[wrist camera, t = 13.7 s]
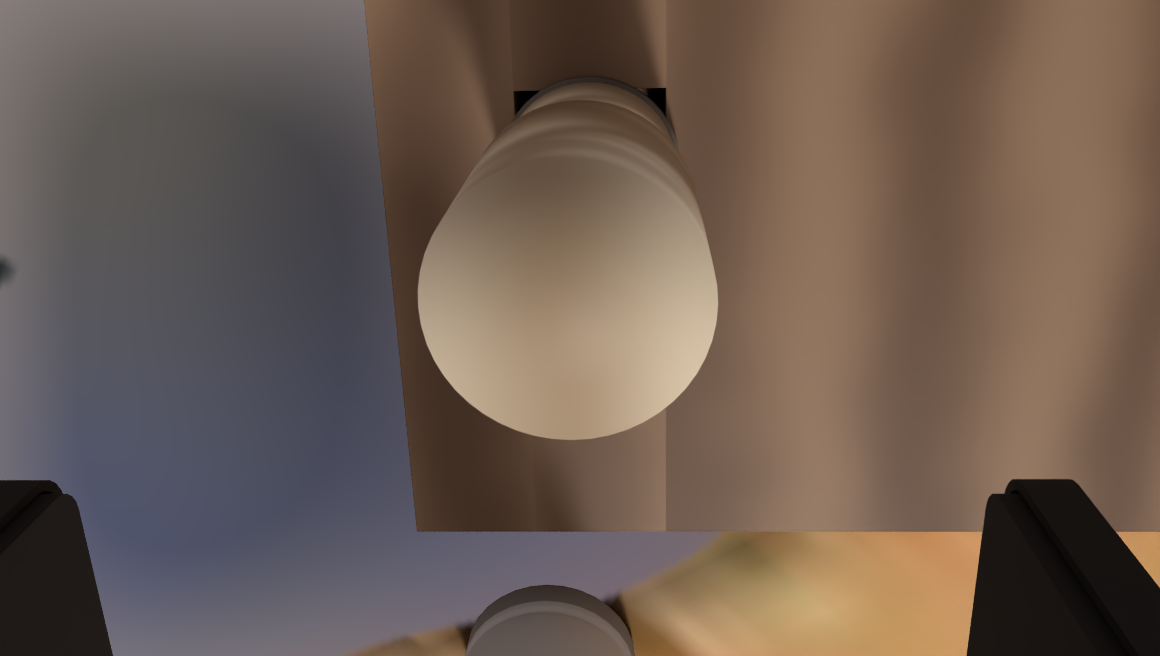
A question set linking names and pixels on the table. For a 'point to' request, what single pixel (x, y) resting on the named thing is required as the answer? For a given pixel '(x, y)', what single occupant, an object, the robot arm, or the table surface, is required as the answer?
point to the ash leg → (573, 268)
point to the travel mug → (549, 625)
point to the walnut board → (822, 257)
